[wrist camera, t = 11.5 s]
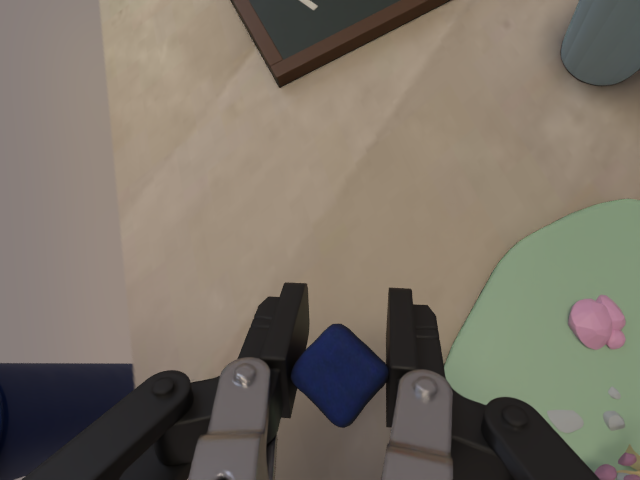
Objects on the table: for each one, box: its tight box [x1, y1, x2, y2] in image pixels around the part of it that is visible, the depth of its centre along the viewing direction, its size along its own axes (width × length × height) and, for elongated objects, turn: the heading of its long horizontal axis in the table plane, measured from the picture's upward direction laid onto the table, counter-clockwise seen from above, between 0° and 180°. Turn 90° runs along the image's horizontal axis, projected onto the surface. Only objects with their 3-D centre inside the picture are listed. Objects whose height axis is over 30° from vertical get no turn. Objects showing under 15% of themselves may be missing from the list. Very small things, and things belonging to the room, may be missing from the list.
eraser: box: [291, 324, 389, 428], centre depth 15 cm, size 2×2×7 cm
